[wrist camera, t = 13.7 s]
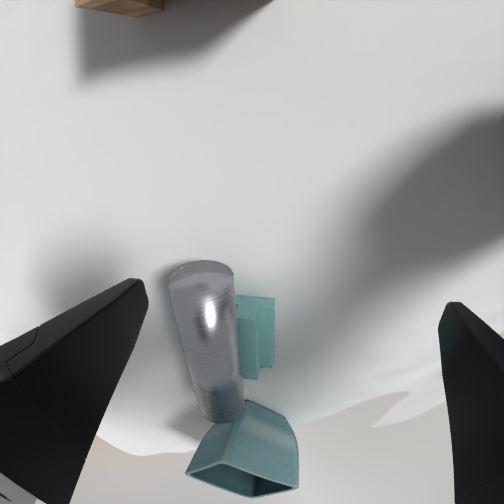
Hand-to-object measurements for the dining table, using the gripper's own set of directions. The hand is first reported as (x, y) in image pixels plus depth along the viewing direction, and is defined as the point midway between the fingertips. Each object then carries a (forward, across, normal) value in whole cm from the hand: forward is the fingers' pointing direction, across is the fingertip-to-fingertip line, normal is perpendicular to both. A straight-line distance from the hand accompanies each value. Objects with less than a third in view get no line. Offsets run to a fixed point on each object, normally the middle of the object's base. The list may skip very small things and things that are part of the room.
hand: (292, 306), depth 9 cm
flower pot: (+12, +4, +27) cm, 30 cm away
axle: (+10, +6, +12) cm, 17 cm away
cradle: (+12, +6, +13) cm, 19 cm away
